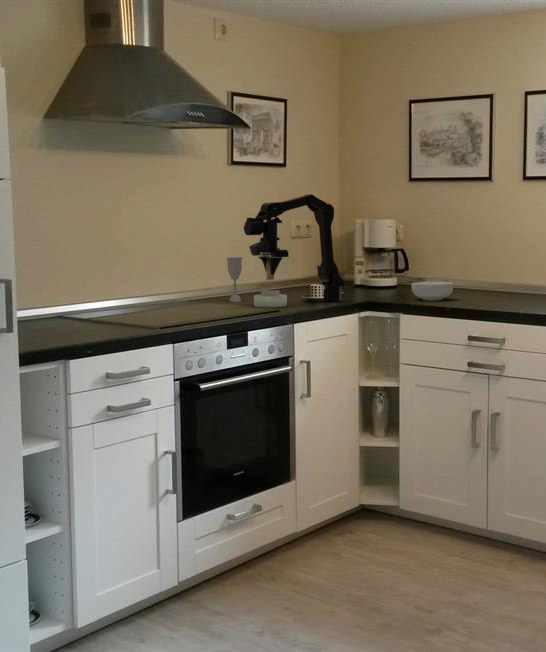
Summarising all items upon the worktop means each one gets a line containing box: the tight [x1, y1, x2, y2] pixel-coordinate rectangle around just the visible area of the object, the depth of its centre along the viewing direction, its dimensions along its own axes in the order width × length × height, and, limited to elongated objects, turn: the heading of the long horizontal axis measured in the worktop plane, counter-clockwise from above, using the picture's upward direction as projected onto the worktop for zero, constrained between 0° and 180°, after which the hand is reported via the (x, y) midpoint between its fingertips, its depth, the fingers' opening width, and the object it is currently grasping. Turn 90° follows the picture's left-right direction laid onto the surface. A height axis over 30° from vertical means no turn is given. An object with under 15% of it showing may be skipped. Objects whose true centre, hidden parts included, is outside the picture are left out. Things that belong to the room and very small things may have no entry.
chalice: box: [226, 256, 244, 302], centre depth 398 cm, size 7×7×18 cm
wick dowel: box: [265, 260, 275, 281], centre depth 376 cm, size 3×3×8 cm
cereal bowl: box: [411, 281, 454, 302], centre depth 394 cm, size 17×17×7 cm
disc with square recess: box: [253, 289, 288, 308], centre depth 378 cm, size 13×13×6 cm
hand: (270, 274), depth 376 cm, fingers closed on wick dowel, 3 cm apart
